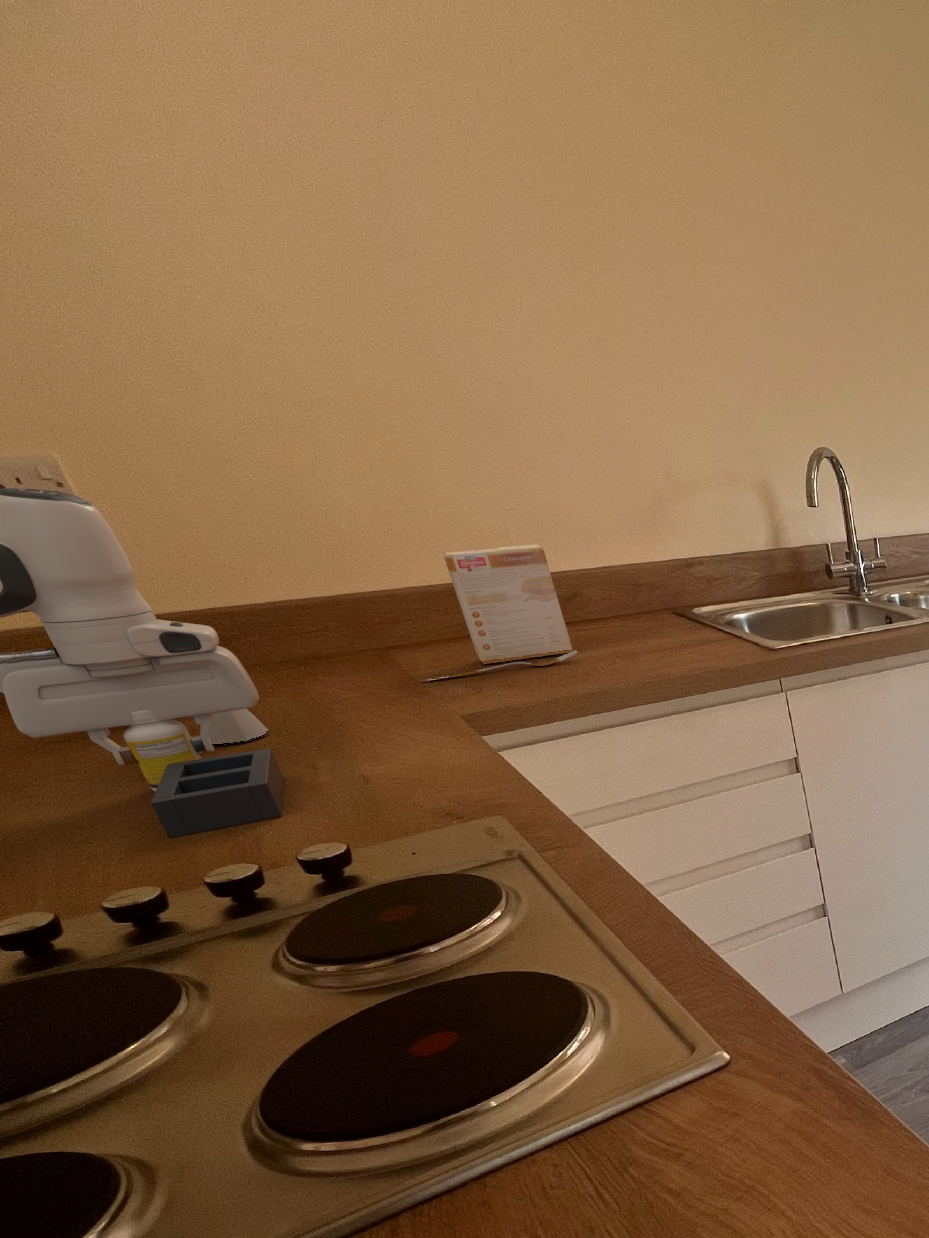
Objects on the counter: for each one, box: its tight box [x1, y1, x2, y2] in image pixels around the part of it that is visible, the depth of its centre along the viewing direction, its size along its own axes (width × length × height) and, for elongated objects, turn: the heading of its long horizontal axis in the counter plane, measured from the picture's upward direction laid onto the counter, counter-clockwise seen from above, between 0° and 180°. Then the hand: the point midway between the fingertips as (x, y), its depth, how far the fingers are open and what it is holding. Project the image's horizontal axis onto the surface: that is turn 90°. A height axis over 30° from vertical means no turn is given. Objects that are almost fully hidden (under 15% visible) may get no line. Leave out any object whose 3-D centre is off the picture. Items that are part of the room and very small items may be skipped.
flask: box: [199, 709, 269, 744], centre depth 131 cm, size 7×7×10 cm
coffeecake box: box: [442, 543, 574, 661], centre depth 176 cm, size 15×7×20 cm, turn 130°
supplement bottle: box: [122, 710, 203, 793], centre depth 114 cm, size 5×5×10 cm
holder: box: [150, 747, 285, 839], centre depth 108 cm, size 9×17×4 cm, turn 40°
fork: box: [426, 649, 579, 681], centre depth 169 cm, size 3×24×2 cm, turn 131°
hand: (168, 757), depth 114 cm, fingers closed on supplement bottle, 5 cm apart
